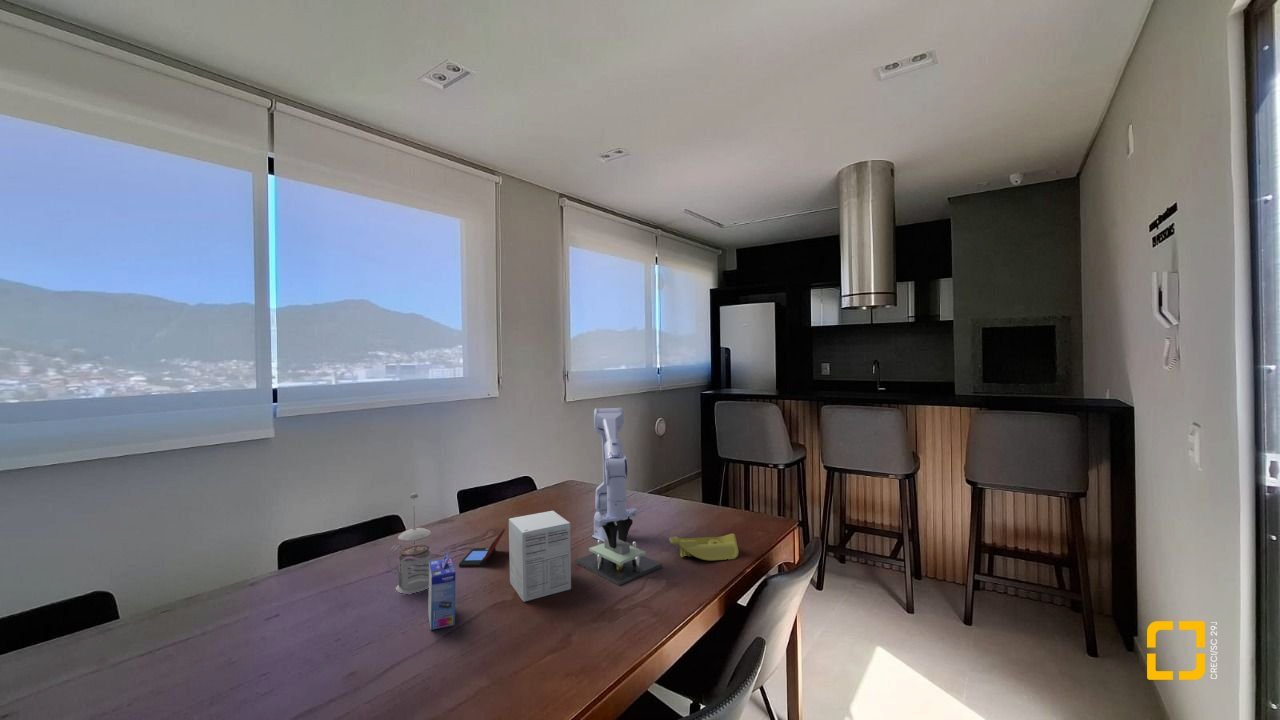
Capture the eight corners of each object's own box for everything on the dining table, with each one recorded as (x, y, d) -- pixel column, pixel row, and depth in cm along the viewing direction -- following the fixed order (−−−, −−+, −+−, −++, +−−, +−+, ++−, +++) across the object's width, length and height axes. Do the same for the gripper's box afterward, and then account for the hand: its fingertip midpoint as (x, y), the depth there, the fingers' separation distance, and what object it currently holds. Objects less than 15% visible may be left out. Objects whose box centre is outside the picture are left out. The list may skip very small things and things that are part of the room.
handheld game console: (472, 551, 151) (472, 528, 151) (506, 551, 151) (506, 527, 151) (457, 568, 138) (456, 543, 138) (493, 568, 138) (493, 542, 138)
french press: (441, 584, 127) (440, 492, 128) (395, 601, 119) (394, 502, 119) (426, 574, 134) (424, 486, 134) (382, 588, 126) (380, 495, 126)
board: (589, 550, 140) (588, 539, 140) (614, 541, 147) (614, 531, 147) (619, 564, 130) (619, 552, 130) (645, 554, 136) (645, 543, 136)
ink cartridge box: (457, 625, 107) (456, 561, 107) (430, 632, 105) (429, 566, 105) (452, 606, 116) (451, 547, 116) (428, 611, 114) (427, 551, 114)
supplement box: (572, 589, 124) (571, 522, 124) (523, 603, 117) (522, 532, 117) (554, 570, 135) (553, 509, 135) (508, 582, 128) (507, 518, 128)
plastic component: (722, 536, 153) (736, 532, 145) (725, 561, 150) (740, 558, 141) (664, 539, 147) (676, 535, 139) (667, 565, 144) (678, 562, 136)
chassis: (575, 563, 140) (575, 546, 140) (616, 548, 151) (616, 532, 151) (619, 585, 125) (618, 566, 125) (661, 567, 136) (661, 549, 136)
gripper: (605, 507, 130) (606, 556, 130) (644, 496, 140) (644, 542, 140) (590, 502, 135) (591, 549, 135) (628, 492, 145) (629, 536, 145)
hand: (617, 545), depth 138 cm, fingers closed on board, 3 cm apart
